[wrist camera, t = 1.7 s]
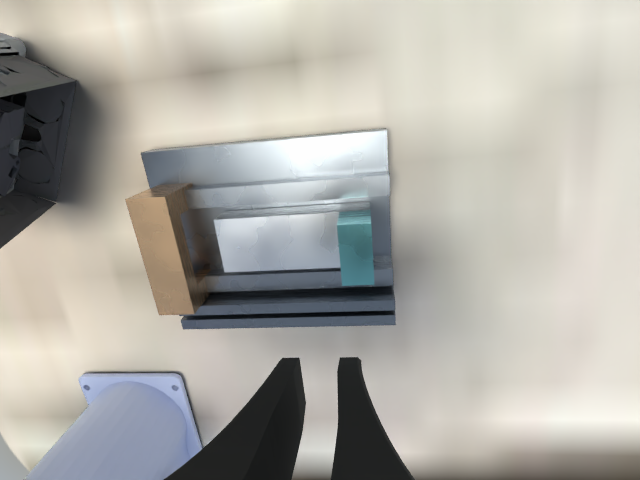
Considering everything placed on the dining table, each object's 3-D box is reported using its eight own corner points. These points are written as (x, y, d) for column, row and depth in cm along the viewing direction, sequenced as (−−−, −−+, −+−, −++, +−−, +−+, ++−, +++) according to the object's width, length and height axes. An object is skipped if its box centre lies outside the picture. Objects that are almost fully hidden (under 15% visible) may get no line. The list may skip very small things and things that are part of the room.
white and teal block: (372, 254, 20) (374, 284, 17) (233, 261, 21) (210, 290, 18) (370, 201, 19) (371, 223, 16) (223, 211, 20) (197, 233, 17)
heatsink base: (391, 297, 23) (397, 339, 19) (191, 303, 24) (159, 343, 21) (385, 128, 19) (391, 136, 15) (152, 149, 21) (104, 162, 17)
